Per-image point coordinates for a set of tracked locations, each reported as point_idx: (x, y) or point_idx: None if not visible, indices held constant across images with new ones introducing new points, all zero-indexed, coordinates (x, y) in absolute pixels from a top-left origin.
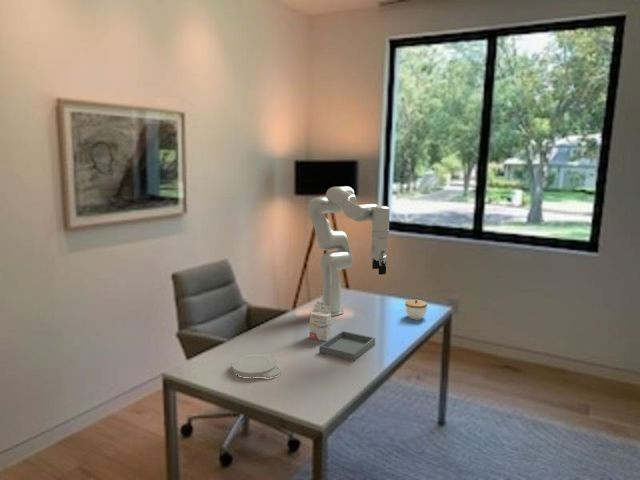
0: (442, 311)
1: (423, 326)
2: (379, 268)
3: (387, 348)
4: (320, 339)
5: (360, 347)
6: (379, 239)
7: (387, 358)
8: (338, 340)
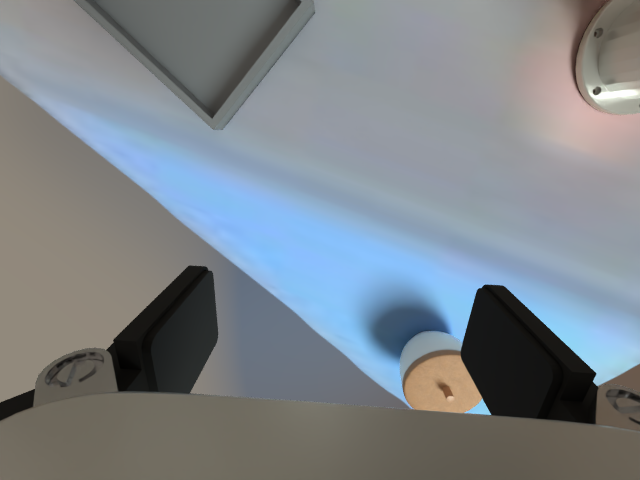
0: None
1: (346, 337)
2: (147, 314)
3: (185, 161)
4: None
5: (184, 55)
6: None
7: (103, 131)
8: None
